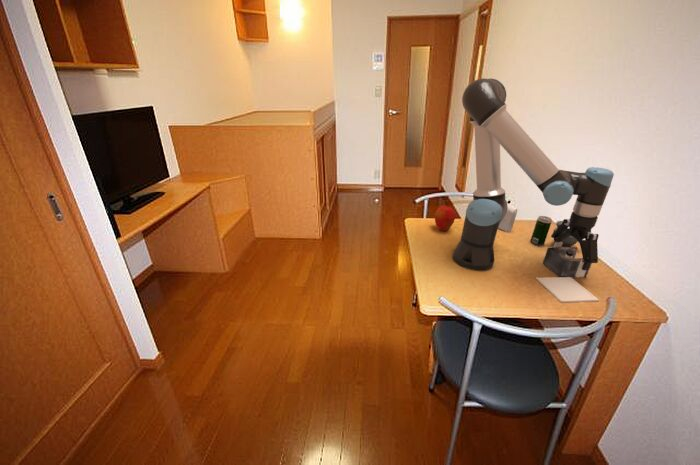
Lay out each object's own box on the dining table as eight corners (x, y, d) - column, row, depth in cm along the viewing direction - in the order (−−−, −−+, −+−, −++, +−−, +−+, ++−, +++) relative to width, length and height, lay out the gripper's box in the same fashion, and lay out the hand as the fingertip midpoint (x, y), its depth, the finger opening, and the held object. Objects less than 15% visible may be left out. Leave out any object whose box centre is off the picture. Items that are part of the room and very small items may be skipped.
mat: (560, 302, 102) (561, 301, 102) (536, 279, 113) (536, 277, 113) (598, 301, 103) (599, 299, 103) (570, 278, 115) (570, 277, 114)
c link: (560, 277, 115) (566, 261, 112) (542, 263, 124) (548, 247, 121) (585, 277, 116) (592, 260, 113) (566, 262, 125) (572, 247, 122)
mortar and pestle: (564, 241, 142) (573, 216, 136) (580, 251, 133) (591, 225, 128) (541, 241, 140) (549, 216, 135) (556, 252, 132) (566, 226, 127)
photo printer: (513, 231, 150) (520, 206, 144) (508, 233, 147) (515, 208, 142) (493, 223, 157) (499, 199, 152) (488, 225, 155) (494, 201, 149)
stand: (561, 273, 118) (569, 252, 114) (554, 266, 121) (561, 246, 118) (573, 273, 118) (581, 252, 114) (564, 266, 122) (572, 246, 118)
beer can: (541, 247, 135) (550, 221, 130) (528, 243, 139) (536, 217, 133) (545, 243, 139) (554, 218, 133) (532, 239, 142) (540, 214, 137)
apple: (430, 225, 152) (433, 201, 147) (448, 225, 153) (452, 201, 148) (436, 234, 144) (440, 209, 139) (455, 233, 145) (460, 209, 140)
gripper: (626, 228, 99) (601, 285, 108) (569, 200, 121) (553, 249, 130) (604, 229, 98) (581, 286, 107) (551, 201, 120) (536, 250, 130)
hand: (565, 266), depth 119 cm, fingers open, 13 cm apart
